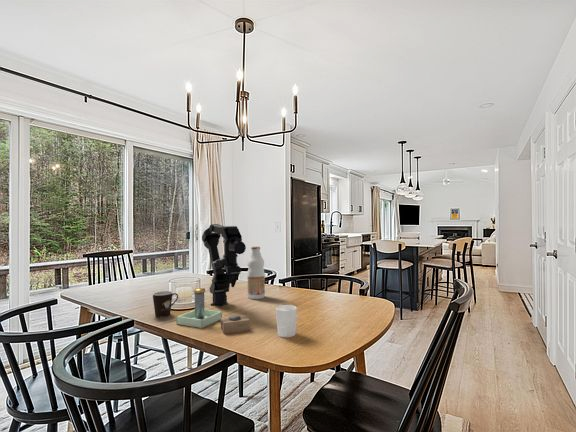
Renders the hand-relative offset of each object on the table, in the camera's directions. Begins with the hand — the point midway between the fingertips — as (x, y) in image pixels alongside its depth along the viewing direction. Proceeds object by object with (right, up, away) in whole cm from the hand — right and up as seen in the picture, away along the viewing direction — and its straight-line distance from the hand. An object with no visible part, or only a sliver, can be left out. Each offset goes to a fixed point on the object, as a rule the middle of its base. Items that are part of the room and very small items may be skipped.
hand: (230, 285), depth 157 cm
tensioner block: (+6, -12, -27) cm, 30 cm away
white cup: (+27, -12, -33) cm, 44 cm away
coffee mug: (-29, -13, -5) cm, 32 cm away
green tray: (-11, -12, -16) cm, 23 cm away
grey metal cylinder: (-11, -11, -16) cm, 22 cm away
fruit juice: (+10, -12, +25) cm, 30 cm away
